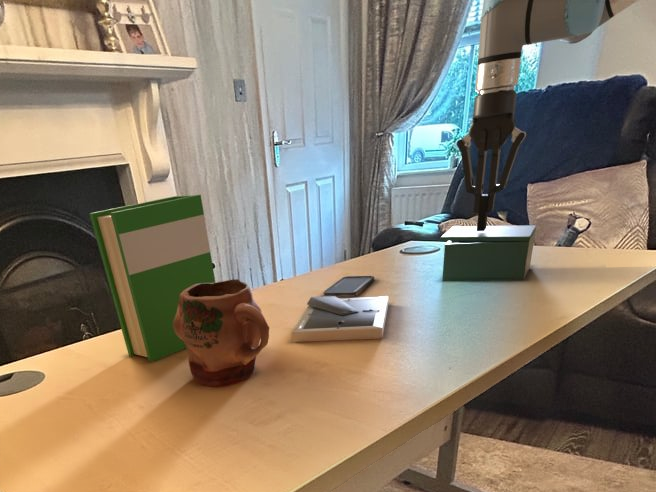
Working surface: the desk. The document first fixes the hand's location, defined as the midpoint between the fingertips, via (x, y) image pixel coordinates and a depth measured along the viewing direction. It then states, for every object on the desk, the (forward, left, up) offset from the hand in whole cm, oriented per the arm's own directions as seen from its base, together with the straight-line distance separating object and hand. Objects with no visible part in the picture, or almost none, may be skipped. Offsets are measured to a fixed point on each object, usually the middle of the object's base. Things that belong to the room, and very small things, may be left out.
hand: (481, 229), depth 114 cm
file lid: (-1, 0, -1) cm, 2 cm away
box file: (-2, 0, -9) cm, 10 cm away
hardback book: (+46, +53, -10) cm, 71 cm away
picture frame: (+18, +37, -10) cm, 42 cm away
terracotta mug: (+26, +66, -10) cm, 72 cm away
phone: (+26, +12, -9) cm, 30 cm away
